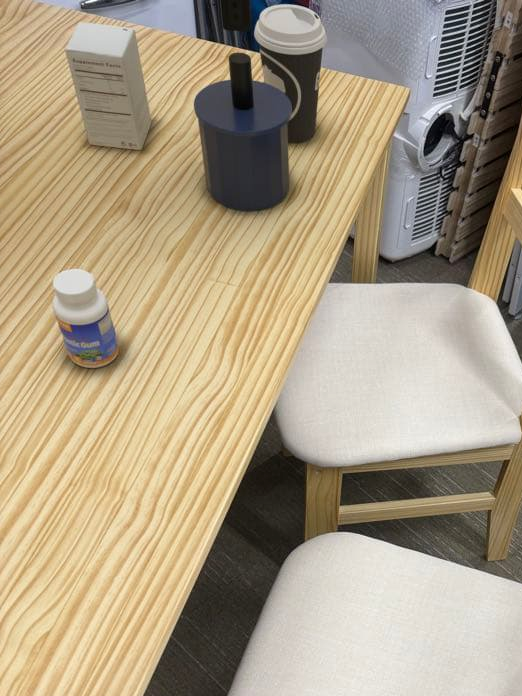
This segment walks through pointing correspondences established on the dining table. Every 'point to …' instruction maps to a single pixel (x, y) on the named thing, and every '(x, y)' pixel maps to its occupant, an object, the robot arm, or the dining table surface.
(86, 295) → the pill bottle
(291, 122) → the coffee cup
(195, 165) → the dining table surface
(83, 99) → the white packaging box
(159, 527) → the dining table surface
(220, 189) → the tin
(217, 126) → the lid
